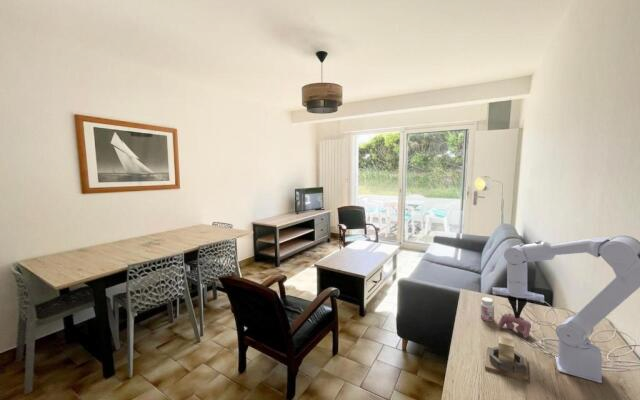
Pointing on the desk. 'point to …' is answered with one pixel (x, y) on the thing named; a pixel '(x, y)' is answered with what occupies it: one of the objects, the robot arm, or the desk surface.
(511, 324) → the video game controller
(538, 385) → the desk surface
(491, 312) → the pill bottle
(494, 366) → the ring holder
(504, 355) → the maple plug
